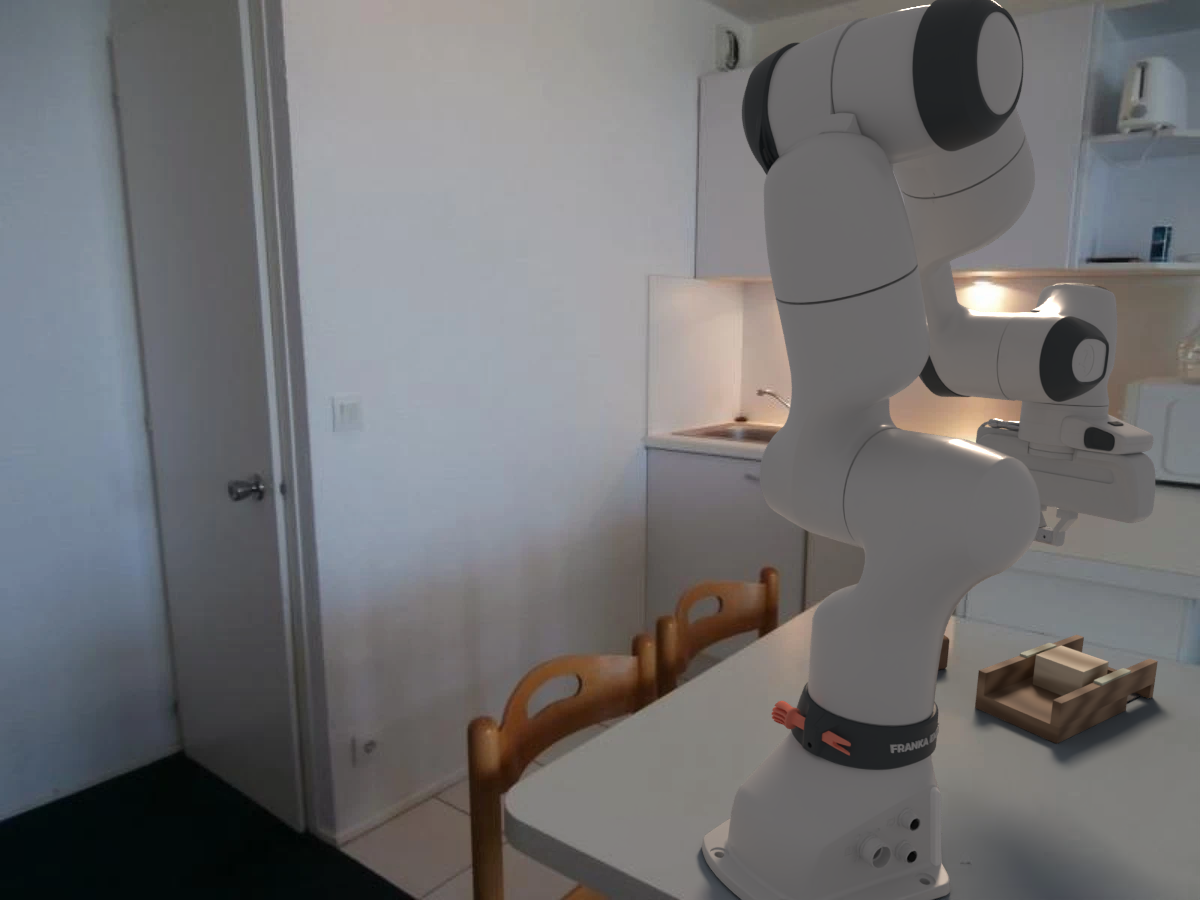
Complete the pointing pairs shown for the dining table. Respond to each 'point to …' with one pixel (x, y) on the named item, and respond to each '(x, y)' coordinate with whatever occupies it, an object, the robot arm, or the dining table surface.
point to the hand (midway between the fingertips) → (1047, 543)
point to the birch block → (1067, 670)
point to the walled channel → (1049, 713)
